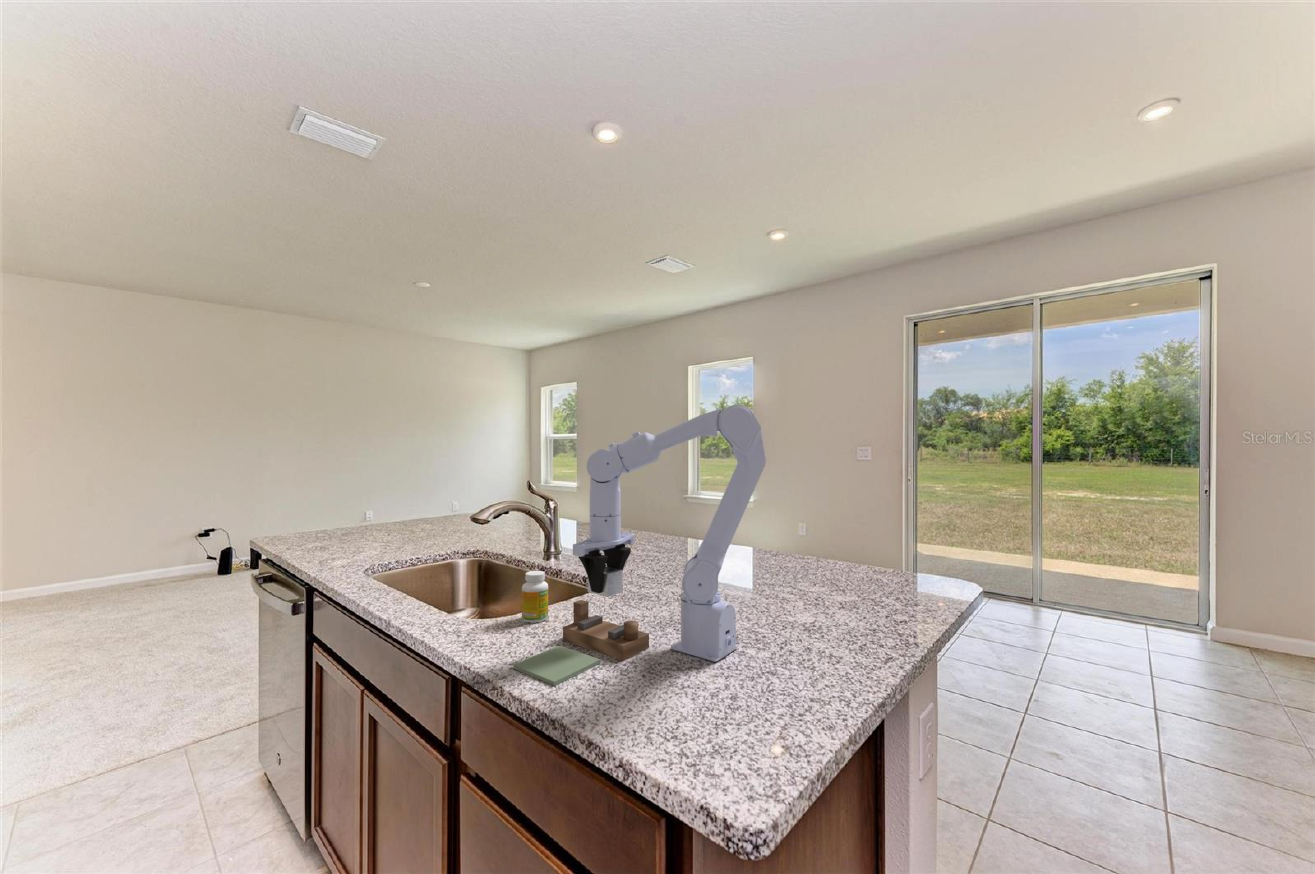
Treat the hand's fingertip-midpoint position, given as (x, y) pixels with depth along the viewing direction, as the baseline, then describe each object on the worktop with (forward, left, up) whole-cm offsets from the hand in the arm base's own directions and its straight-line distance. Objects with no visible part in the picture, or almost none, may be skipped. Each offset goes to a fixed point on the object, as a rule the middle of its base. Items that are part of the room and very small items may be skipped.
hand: (605, 589), depth 92 cm
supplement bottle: (+21, -1, -10) cm, 23 cm away
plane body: (0, 0, -10) cm, 10 cm away
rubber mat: (0, +12, -10) cm, 15 cm away
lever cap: (0, 0, 0) cm, 0 cm away
